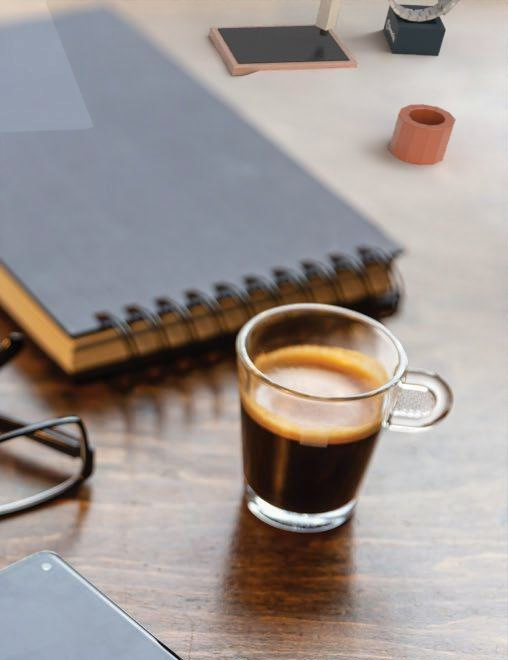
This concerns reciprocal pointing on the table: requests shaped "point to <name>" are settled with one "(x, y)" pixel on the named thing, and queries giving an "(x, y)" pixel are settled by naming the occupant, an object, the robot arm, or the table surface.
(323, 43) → the tablet
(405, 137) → the pen holder
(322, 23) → the stylus
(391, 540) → the table surface
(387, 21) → the watch
